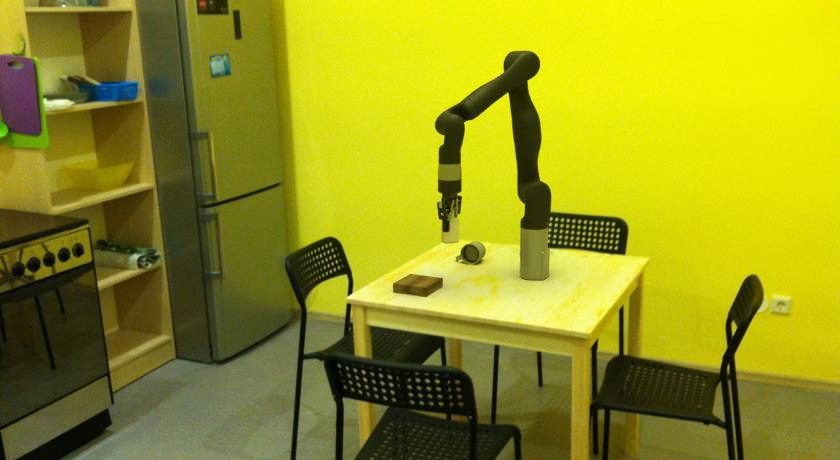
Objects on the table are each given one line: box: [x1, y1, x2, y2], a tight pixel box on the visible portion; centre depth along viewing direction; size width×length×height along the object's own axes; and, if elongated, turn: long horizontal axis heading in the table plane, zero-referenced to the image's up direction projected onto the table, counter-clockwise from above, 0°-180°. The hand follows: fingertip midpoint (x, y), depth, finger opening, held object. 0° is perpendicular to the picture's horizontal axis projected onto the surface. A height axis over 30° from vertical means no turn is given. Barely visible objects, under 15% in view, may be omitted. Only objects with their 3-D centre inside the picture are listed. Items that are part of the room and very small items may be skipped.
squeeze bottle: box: [440, 209, 460, 245], centre depth 258 cm, size 4×6×12 cm
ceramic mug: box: [455, 240, 487, 266], centre depth 295 cm, size 11×8×8 cm
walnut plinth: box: [392, 273, 444, 298], centre depth 263 cm, size 12×12×3 cm
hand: (449, 230), depth 259 cm, fingers closed on squeeze bottle, 5 cm apart
